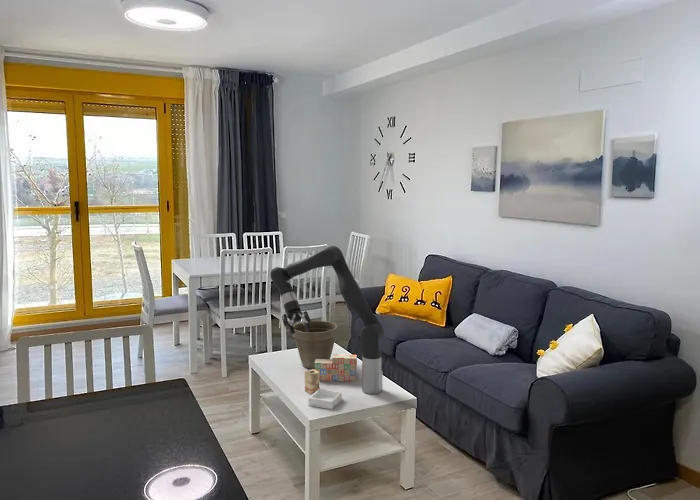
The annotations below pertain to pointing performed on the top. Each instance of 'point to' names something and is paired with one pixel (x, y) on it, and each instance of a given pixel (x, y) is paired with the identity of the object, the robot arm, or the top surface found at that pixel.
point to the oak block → (311, 381)
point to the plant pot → (315, 341)
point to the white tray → (325, 398)
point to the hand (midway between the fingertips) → (301, 332)
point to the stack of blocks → (337, 368)
